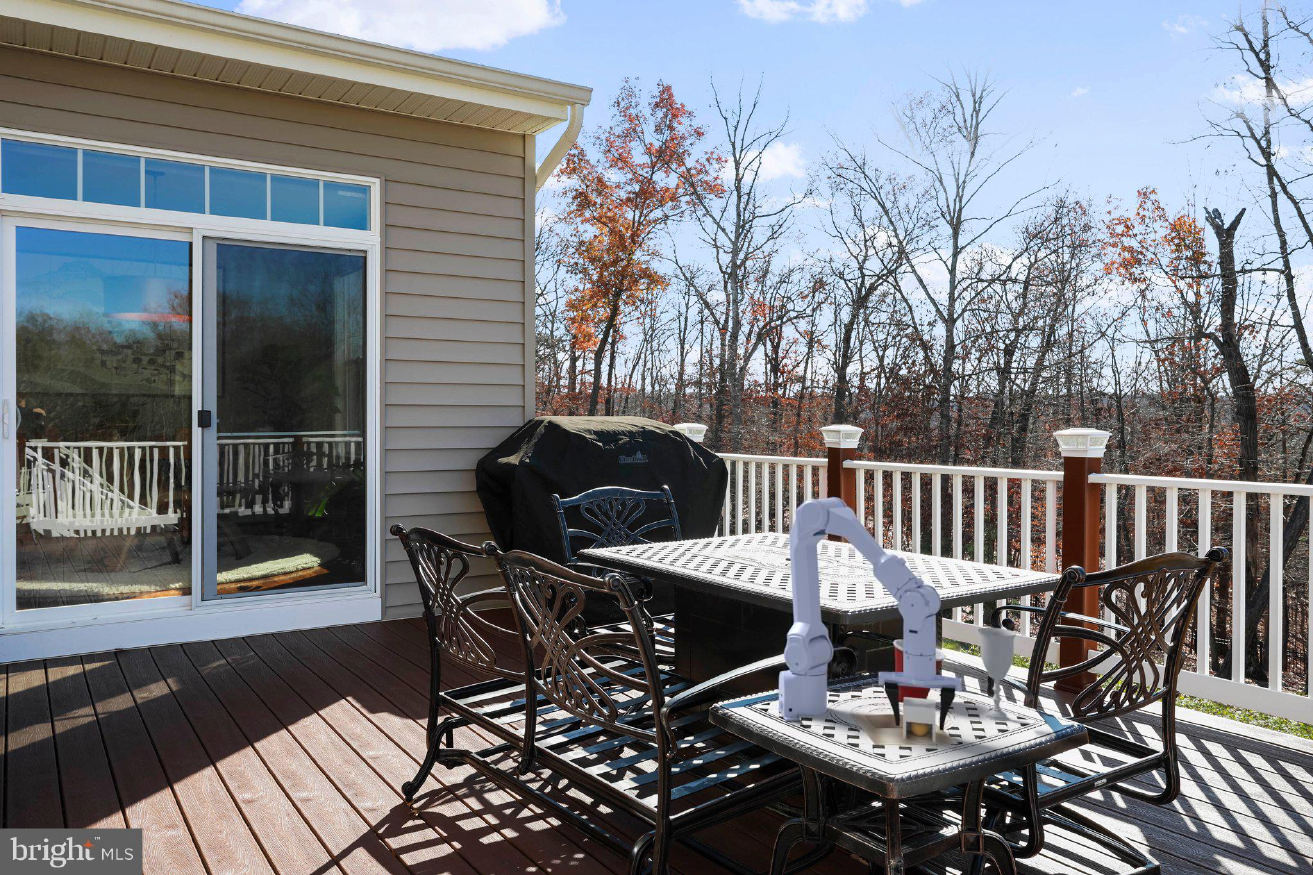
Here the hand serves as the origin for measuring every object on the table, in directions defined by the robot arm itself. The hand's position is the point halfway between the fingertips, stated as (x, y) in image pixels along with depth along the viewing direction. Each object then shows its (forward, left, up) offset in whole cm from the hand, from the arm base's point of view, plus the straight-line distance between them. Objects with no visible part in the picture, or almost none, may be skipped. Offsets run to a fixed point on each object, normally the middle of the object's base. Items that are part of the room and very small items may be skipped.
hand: (919, 726), depth 156 cm
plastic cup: (+6, +22, -3) cm, 23 cm away
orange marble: (0, 0, -2) cm, 2 cm away
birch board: (-2, +4, -3) cm, 5 cm away
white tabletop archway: (0, 0, -2) cm, 2 cm away
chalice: (+19, +10, -3) cm, 22 cm away
